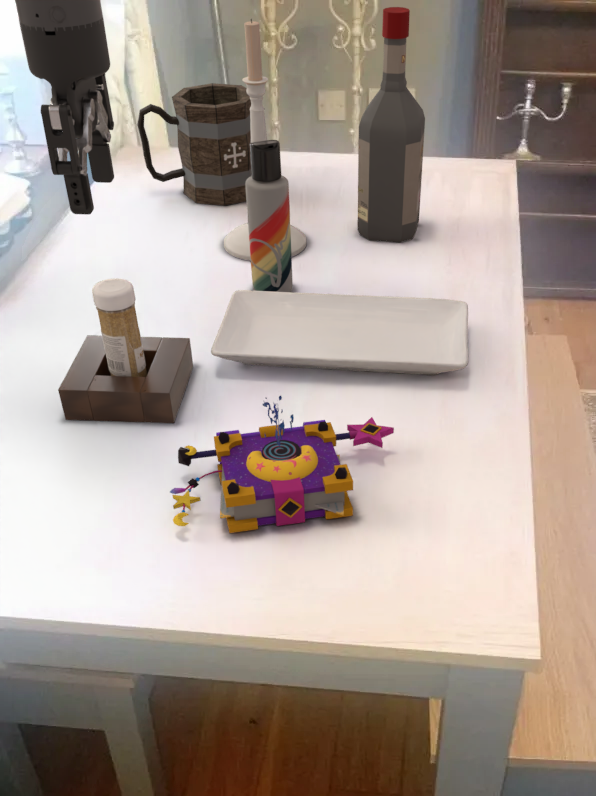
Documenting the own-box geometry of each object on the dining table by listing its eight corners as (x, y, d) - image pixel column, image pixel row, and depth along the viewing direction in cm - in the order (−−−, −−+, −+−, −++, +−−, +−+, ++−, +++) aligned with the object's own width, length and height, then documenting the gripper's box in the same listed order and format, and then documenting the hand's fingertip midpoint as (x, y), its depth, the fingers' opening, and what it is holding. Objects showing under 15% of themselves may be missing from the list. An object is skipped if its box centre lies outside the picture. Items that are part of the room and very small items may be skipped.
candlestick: (289, 266, 134) (278, 33, 113) (210, 255, 137) (186, 26, 116) (317, 233, 142) (313, 11, 121) (243, 223, 145) (226, 5, 124)
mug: (258, 175, 161) (252, 81, 150) (264, 203, 151) (259, 105, 141) (147, 181, 159) (134, 86, 148) (147, 210, 149) (132, 111, 139)
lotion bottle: (261, 303, 125) (250, 150, 111) (247, 286, 129) (236, 136, 115) (298, 295, 127) (293, 144, 113) (284, 279, 131) (277, 130, 117)
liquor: (420, 221, 146) (433, 3, 125) (413, 244, 139) (426, 19, 118) (364, 218, 147) (368, 1, 126) (355, 240, 140) (357, 16, 119)
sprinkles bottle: (158, 392, 109) (141, 285, 99) (127, 406, 106) (106, 299, 97) (136, 378, 111) (117, 272, 101) (105, 391, 109) (83, 285, 99)
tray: (465, 389, 109) (468, 363, 106) (210, 376, 111) (207, 350, 109) (466, 323, 121) (468, 299, 118) (235, 312, 123) (233, 288, 121)
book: (165, 464, 98) (148, 364, 89) (387, 436, 102) (391, 336, 93) (177, 550, 88) (159, 446, 79) (423, 515, 92) (431, 411, 83)
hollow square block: (65, 420, 104) (57, 389, 101) (93, 364, 113) (87, 334, 111) (174, 423, 104) (169, 393, 101) (193, 367, 113) (189, 337, 110)
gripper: (42, -5, 87) (76, 171, 98) (-7, 32, 77) (37, 223, 88) (119, -4, 86) (144, 173, 98) (80, 33, 76) (113, 225, 88)
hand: (93, 196), depth 93 cm, fingers open, 8 cm apart
